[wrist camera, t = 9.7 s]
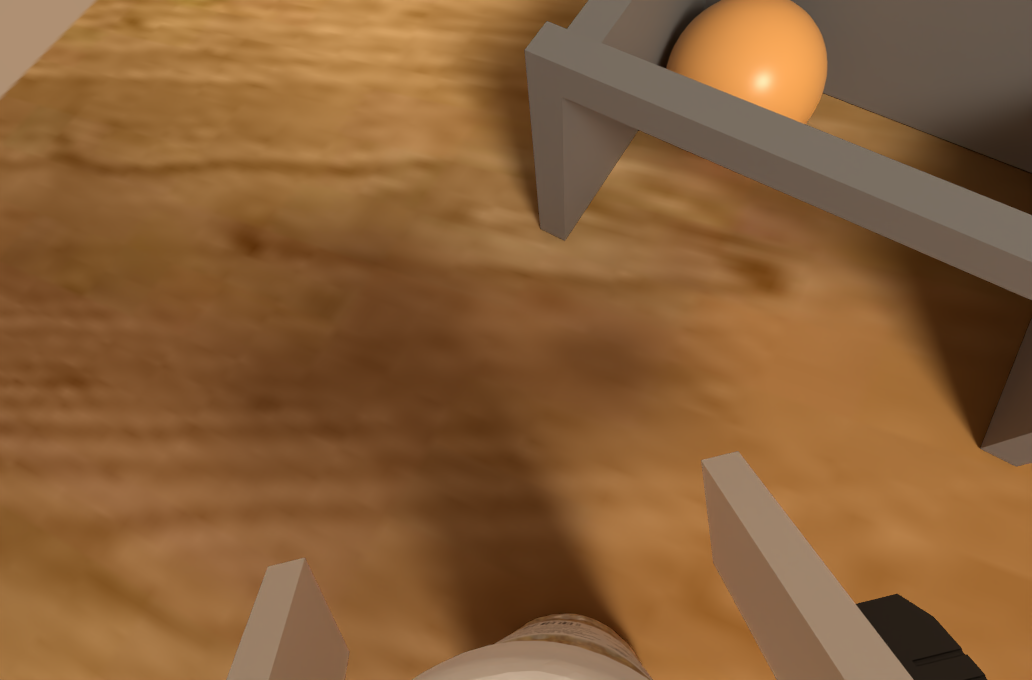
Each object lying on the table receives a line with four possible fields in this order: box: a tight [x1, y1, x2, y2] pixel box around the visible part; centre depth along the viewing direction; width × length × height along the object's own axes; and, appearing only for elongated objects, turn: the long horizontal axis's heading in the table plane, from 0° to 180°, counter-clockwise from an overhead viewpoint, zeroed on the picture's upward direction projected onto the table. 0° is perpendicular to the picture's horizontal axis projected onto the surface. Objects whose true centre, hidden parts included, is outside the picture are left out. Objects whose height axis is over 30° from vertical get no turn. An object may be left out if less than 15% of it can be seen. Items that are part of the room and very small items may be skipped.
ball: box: [666, 0, 827, 124], centre depth 20 cm, size 5×5×5 cm
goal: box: [525, 0, 1032, 466], centre depth 18 cm, size 16×11×8 cm
